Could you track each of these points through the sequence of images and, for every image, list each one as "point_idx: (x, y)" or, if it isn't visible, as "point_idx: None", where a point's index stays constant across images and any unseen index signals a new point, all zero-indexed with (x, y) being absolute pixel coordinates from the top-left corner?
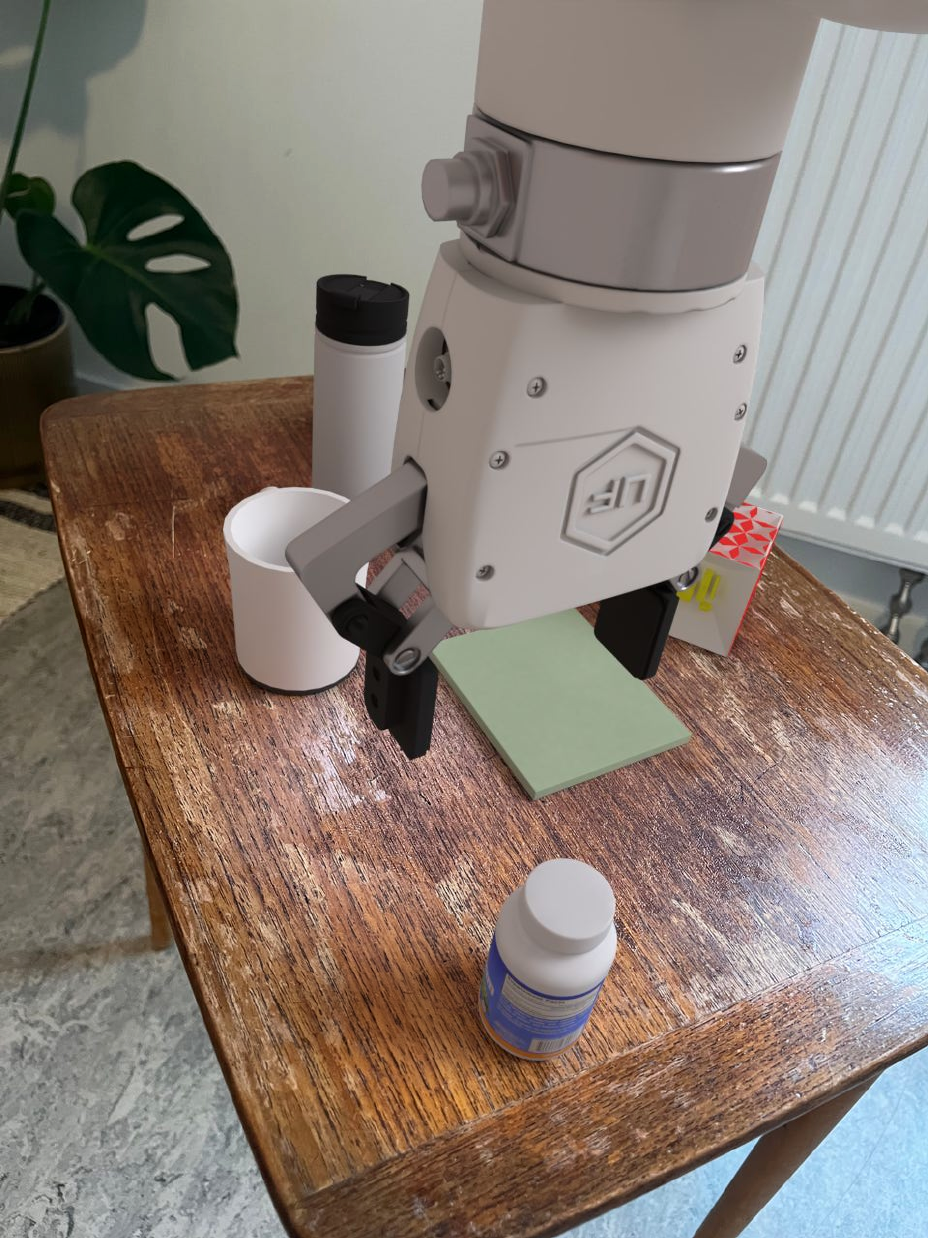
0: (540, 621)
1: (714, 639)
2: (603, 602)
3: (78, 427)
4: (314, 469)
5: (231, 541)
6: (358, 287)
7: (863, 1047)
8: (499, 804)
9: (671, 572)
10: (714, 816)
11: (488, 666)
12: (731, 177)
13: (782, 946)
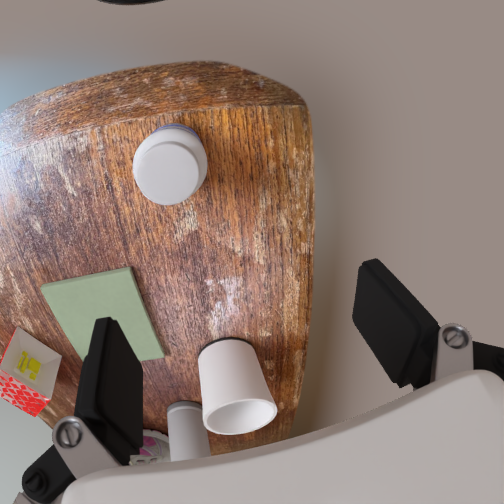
0: None
1: (21, 336)
2: (141, 400)
3: (279, 438)
4: (207, 436)
5: (275, 410)
6: None
7: (24, 104)
8: (149, 267)
9: (131, 486)
10: (40, 239)
11: (135, 342)
12: None
13: (33, 160)
